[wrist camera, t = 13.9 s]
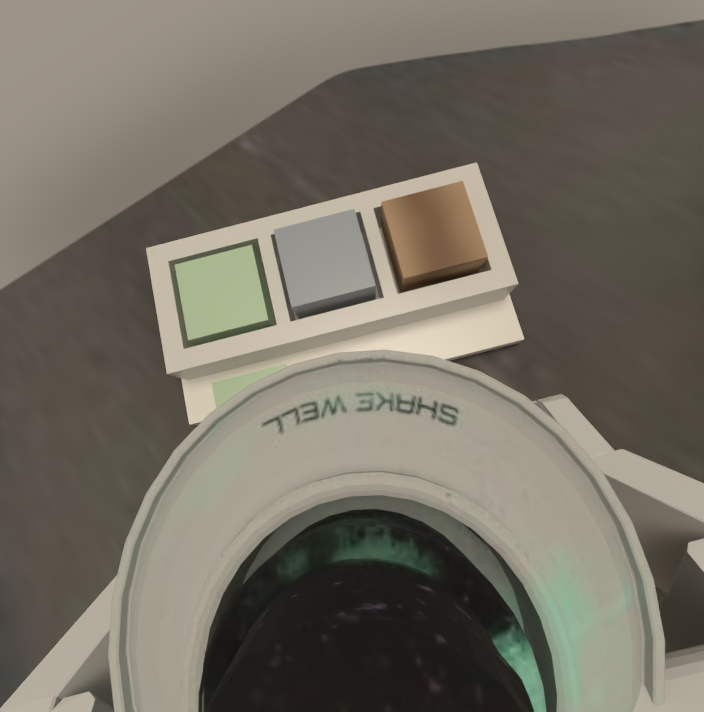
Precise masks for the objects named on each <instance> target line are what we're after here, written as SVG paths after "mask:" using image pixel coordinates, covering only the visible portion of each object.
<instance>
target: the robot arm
mask: <svg viewBox="0 0 704 712" xmlns="http://www.w3.org/2000/svg"><path fill="white" fill-rule="evenodd" d="M532 402H533V403H534V404H535V405H537V406H538V407H539V408H540V409H542V410H543V411H544V412H545V413H547V414H548V415H549V416H550V417H551V418H553V419H554V420H555V421H556V422H558V423H559V424H560V425H561V426H562V427H564V428H565V429H566V430H567V431H568V432H569V433H570V434H571V436H572V437H573V438H574V439H575V440H576V441H577V443H578V444H579V445H580V446H581V447H582V448H583V450H584V451H585V452H586V453H587V454H588V455H589V457H590V458H591V459H592V460H593V461H594V462H595V464H596V465H597V466H598V467H599V468H600V469H601V471H602V472H603V473H604V475H605V477H606V478H607V480H608V482H609V483H610V485H611V487H612V489H613V490H614V492H615V494H616V495H617V497H618V499H619V500H620V502H621V504H622V505H623V507H624V509H625V510H626V512H627V514H628V516H629V517H630V519H631V521H632V522H633V525H634V528H635V530H636V533H637V536H638V538H639V541H640V544H641V546H642V549H643V552H644V554H645V557H646V560H647V562H648V565H649V568H650V570H651V573H652V576H653V578H654V584H655V585H656V586H657V587H658V588H660V589H661V590H663V591H664V592H666V593H667V594H668V595H667V598H666V600H665V603H664V605H663V608H662V610H661V613H660V616H661V622H662V627H663V632H664V638H665V641H666V642H667V644H668V645H669V647H670V648H671V650H672V651H673V652H669V653H665V702H664V704H663V705H662V706H656V705H654V704H653V703H652V700H651V698H650V696H649V693H648V691H647V689H646V687H645V685H641V688H640V694H639V697H638V700H637V703H636V706H635V709H634V712H704V483H702V482H700V481H697V480H695V479H692V478H690V477H688V476H685V475H683V474H681V473H678V472H676V471H674V470H671V469H669V468H667V467H664V466H662V465H659V464H657V463H655V462H652V461H650V460H648V459H645V458H643V457H641V456H638V455H636V454H634V453H631V452H629V451H626V450H624V449H620V450H614V449H613V448H612V447H611V446H610V445H609V444H608V443H607V441H606V440H605V439H604V438H603V437H602V436H601V435H600V434H599V432H598V431H597V430H596V429H595V428H594V427H593V426H592V425H591V424H590V422H589V421H588V420H587V419H586V418H585V417H584V416H583V415H582V413H581V412H580V411H579V410H578V409H577V408H576V407H575V406H574V405H573V403H572V402H571V401H570V400H569V399H568V398H567V397H566V396H564V395H562V394H559V395H555V396H551V397H547V398H543V399H539V400H537V401H532ZM116 579H117V576H116V577H115V578H114V579H113V580H112V581H111V583H110V584H109V585H108V586H107V587H106V588H105V589H104V591H103V592H102V593H101V594H100V595H99V596H98V597H97V599H96V600H95V601H94V602H93V603H92V604H91V605H90V607H89V608H88V609H87V610H86V611H85V612H84V613H83V615H82V616H81V617H80V618H79V619H78V620H77V621H76V623H75V624H74V625H73V626H72V627H71V628H70V629H69V631H68V632H67V633H66V634H65V635H64V636H63V637H62V639H61V640H60V641H59V642H58V643H57V644H56V645H55V647H54V648H53V649H52V650H51V651H50V652H49V653H48V655H47V656H46V657H45V658H44V659H43V660H42V661H41V663H40V664H39V665H38V666H37V667H36V668H35V669H34V671H33V672H32V673H31V674H30V675H29V676H28V677H27V679H26V680H25V681H24V682H23V683H22V684H21V685H20V687H19V688H18V689H17V690H16V691H15V692H14V693H13V695H12V696H11V697H10V698H9V699H8V700H7V701H6V703H5V704H4V705H3V706H2V707H1V708H0V712H114V705H113V696H112V687H111V677H110V668H109V659H108V651H109V636H110V620H111V604H112V595H113V591H114V587H115V583H116Z"/></svg>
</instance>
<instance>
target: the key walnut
mask: <svg viewBox="0 0 704 712" xmlns="http://www.w3.org/2000/svg"><path fill="white" fill-rule="evenodd" d="M381 227H382V230H383V234H384V237H385V241H386V244H387V248H388V251H389V255H390V259H391V262H392V266H393V269H394V273H395V276H396V280H397V283H398V287H399V290H400V293H404V292H407V291H411V290H415V289H419V288H423V287H427V286H431V285H435V284H439V283H443V282H446V281H450V280H454V279H458V278H462V277H466V276H470V275H474V274H478V272H479V271H480V269H481V267H482V266H483V264H484V263H485V261H486V259H487V258H488V255H487V252H486V249H485V246H484V243H483V240H482V237H481V234H480V231H479V228H478V225H477V222H476V219H475V216H474V213H473V210H472V207H471V204H470V201H469V198H468V195H467V192H466V189H465V186H464V183H463V181H460V182H456V183H452V184H448V185H444V186H440V187H436V188H433V189H429V190H425V191H421V192H417V193H413V194H409V195H406V196H402V197H398V198H394V199H390V200H386V201H382V202H381Z"/></svg>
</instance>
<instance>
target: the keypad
mask: <svg viewBox="0 0 704 712" xmlns="http://www.w3.org/2000/svg"><path fill="white" fill-rule="evenodd" d="M460 181H463V183H464V186H465V189H466V192H467V195H468V198H469V201H470V204H471V207H472V210H473V213H474V216H475V219H476V222H477V225H478V228H479V231H480V234H481V237H482V240H483V243H484V246H485V249H486V252H487V255H488V258H487V259H486V261H485V263H484V264H483V266H482V267H481V269H480V271H479V272H478V274H474V275H470V276H466V277H462V278H458V279H454V280H450V281H446V282H443V283H439V284H435V285H431V286H427V287H423V288H419V289H415V290H411V291H407V292H404V293H400V290H399V287H398V283H397V280H396V276H395V273H394V269H393V266H392V262H391V259H390V255H389V251H388V248H387V244H386V241H385V237H384V234H383V230H382V227H381V202H382V201H386V200H390V199H394V198H398V197H402V196H406V195H409V194H413V193H417V192H421V191H425V190H429V189H433V188H436V187H440V186H444V185H448V184H452V183H456V182H460ZM352 209H355V212H356V216H357V220H358V223H359V227H360V231H361V234H362V238H363V242H364V245H365V249H366V253H367V256H368V260H369V264H370V267H371V271H372V275H373V278H374V282H375V286H376V300H372V301H369V302H365V303H361V304H357V305H353V306H349V307H345V308H341V309H337V310H334V311H330V312H326V313H322V314H318V315H314V316H310V317H306V318H302V319H299V318H298V316H297V315H296V313H295V312H294V310H293V309H292V307H291V303H290V299H289V294H288V290H287V286H286V281H285V277H284V273H283V268H282V264H281V260H280V255H279V251H278V247H277V242H276V238H275V234H274V229H278V228H282V227H286V226H290V225H294V224H298V223H301V222H305V221H309V220H313V219H317V218H321V217H325V216H328V215H332V214H336V213H340V212H344V211H348V210H352ZM249 245H252V246H253V247H254V249H255V250H256V252H257V253H258V255H259V256H260V258H261V259H262V261H263V265H264V269H265V274H266V278H267V283H268V287H269V291H270V296H271V300H272V305H273V309H274V314H275V318H276V323H277V325H275V326H271V327H267V328H263V329H260V330H256V331H252V332H248V333H244V334H240V335H236V336H232V337H228V338H225V339H221V340H217V341H213V342H209V343H205V344H201V345H196V344H194V343H192V342H191V341H189V340H188V337H187V331H186V326H185V320H184V315H183V309H182V304H181V298H180V292H179V287H178V281H177V276H176V270H175V264H179V263H183V262H187V261H191V260H195V259H199V258H202V257H206V256H210V255H214V254H218V253H222V252H226V251H229V250H233V249H237V248H241V247H245V246H249ZM146 251H147V257H148V263H149V269H150V275H151V281H152V287H153V293H154V299H155V305H156V311H157V317H158V323H159V329H160V335H161V341H162V347H163V353H164V359H165V365H166V371H167V374H169V375H172V376H176V377H179V378H181V380H182V385H183V391H184V397H185V403H186V408H187V414H188V420H189V425H199V424H200V423H201V422H202V421H203V420H204V419H205V417H206V416H207V415H208V414H209V413H211V412H212V411H213V410H215V409H216V408H218V407H219V406H220V405H222V404H223V403H224V402H226V401H227V400H229V399H230V398H231V397H233V396H234V395H235V394H237V393H238V392H239V391H241V390H242V389H244V388H245V387H246V386H248V385H249V384H252V383H254V382H256V381H258V380H260V379H262V378H264V377H266V376H268V375H270V374H273V373H275V372H277V371H279V370H281V369H283V368H285V367H287V366H289V365H291V364H295V363H299V362H303V361H307V360H311V359H315V358H318V357H322V356H326V355H330V354H334V353H338V352H354V351H370V350H392V351H400V352H407V353H415V354H423V355H431V356H435V357H438V358H441V359H444V360H447V361H451V360H455V359H458V358H462V357H466V356H470V355H474V354H478V353H482V352H486V351H490V350H494V349H498V348H502V347H505V346H509V345H513V344H517V343H519V342H521V341H522V340H524V337H523V334H522V331H521V328H520V325H519V322H518V319H517V316H516V313H515V310H514V307H513V304H512V301H511V298H510V295H509V293H510V292H511V291H512V290H513V289H514V288H515V287H516V286H517V285H518V281H517V278H516V275H515V272H514V269H513V266H512V263H511V261H510V258H509V255H508V252H507V249H506V246H505V243H504V240H503V237H502V234H501V231H500V228H499V226H498V223H497V220H496V217H495V214H494V211H493V208H492V205H491V202H490V199H489V196H488V193H487V191H486V188H485V185H484V182H483V179H482V176H481V173H480V170H479V167H478V164H477V163H473V164H469V165H465V166H461V167H458V168H454V169H450V170H446V171H442V172H438V173H434V174H431V175H427V176H423V177H419V178H415V179H411V180H407V181H404V182H400V183H396V184H392V185H388V186H384V187H380V188H377V189H373V190H369V191H365V192H361V193H357V194H353V195H350V196H346V197H342V198H338V199H334V200H330V201H327V202H323V203H319V204H315V205H311V206H307V207H303V208H300V209H296V210H292V211H288V212H284V213H280V214H276V215H273V216H269V217H265V218H261V219H257V220H253V221H249V222H246V223H242V224H238V225H234V226H230V227H226V228H222V229H219V230H215V231H211V232H207V233H203V234H199V235H195V236H192V237H188V238H184V239H180V240H176V241H172V242H168V243H165V244H161V245H157V246H153V247H149V248H146Z"/></svg>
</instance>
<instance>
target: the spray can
mask: <svg viewBox="0 0 704 712" xmlns="http://www.w3.org/2000/svg"><path fill="white" fill-rule="evenodd" d="M108 659H109V668H110V677H111V687H112V696H113V705H114V712H634V709H635V706H636V703H637V700H638V697H639V694H640V688H641V685H645V687H646V689H647V691H648V693H649V696H650V698H651V700H652V703H653V704H654V705H656V706H662V705H663V704H664V702H665V638H664V632H663V627H662V622H661V616H660V611H659V605H658V600H657V594H656V589H655V584H654V578H653V576H652V573H651V570H650V568H649V565H648V562H647V560H646V557H645V554H644V552H643V549H642V546H641V544H640V541H639V538H638V536H637V533H636V530H635V528H634V525H633V522H632V521H631V519H630V517H629V516H628V514H627V512H626V510H625V509H624V507H623V505H622V504H621V502H620V500H619V499H618V497H617V495H616V494H615V492H614V490H613V489H612V487H611V485H610V483H609V482H608V480H607V478H606V477H605V475H604V473H603V472H602V471H601V469H600V468H599V467H598V466H597V465H596V464H595V462H594V461H593V460H592V459H591V458H590V457H589V455H588V454H587V453H586V452H585V451H584V450H583V448H582V447H581V446H580V445H579V444H578V443H577V441H576V440H575V439H574V438H573V437H572V436H571V434H570V433H569V432H568V431H567V430H566V429H565V428H564V427H562V426H561V425H560V424H559V423H558V422H556V421H555V420H554V419H553V418H551V417H550V416H549V415H548V414H547V413H545V412H544V411H543V410H542V409H540V408H539V407H538V406H537V405H535V404H534V403H533V402H532V401H531V400H529V399H528V398H527V397H526V396H524V395H522V394H521V393H519V392H517V391H515V390H513V389H511V388H510V387H508V386H506V385H504V384H502V383H500V382H499V381H497V380H495V379H493V378H491V377H490V376H488V375H486V374H484V373H482V372H480V371H478V370H475V369H472V368H469V367H466V366H462V365H459V364H456V363H453V362H450V361H447V360H444V359H441V358H438V357H435V356H431V355H423V354H415V353H407V352H400V351H392V350H370V351H354V352H338V353H334V354H330V355H326V356H322V357H318V358H315V359H311V360H307V361H303V362H299V363H295V364H291V365H289V366H287V367H285V368H283V369H281V370H279V371H277V372H275V373H273V374H270V375H268V376H266V377H264V378H262V379H260V380H258V381H256V382H254V383H252V384H249V385H248V386H246V387H245V388H244V389H242V390H241V391H239V392H238V393H237V394H235V395H234V396H233V397H231V398H230V399H229V400H227V401H226V402H224V403H223V404H222V405H220V406H219V407H218V408H216V409H215V410H213V411H212V412H211V413H209V414H208V415H207V416H206V417H205V419H204V420H203V421H202V422H201V423H200V424H199V425H198V426H197V427H196V428H195V429H194V430H193V431H192V432H191V433H190V434H189V435H188V437H187V438H186V439H185V440H184V441H183V442H182V443H181V444H180V445H179V446H178V447H177V448H176V449H175V450H174V452H173V453H172V455H171V456H170V458H169V459H168V461H167V463H166V464H165V466H164V467H163V469H162V470H161V472H160V473H159V475H158V476H157V478H156V479H155V481H154V482H153V484H152V485H151V487H150V489H149V490H148V492H147V493H146V495H145V498H144V500H143V502H142V505H141V507H140V509H139V512H138V514H137V516H136V519H135V521H134V523H133V525H132V528H131V530H130V532H129V535H128V537H127V539H126V542H125V545H124V549H123V553H122V558H121V562H120V566H119V570H118V574H117V579H116V583H115V587H114V591H113V595H112V604H111V620H110V636H109V651H108Z"/></svg>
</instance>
